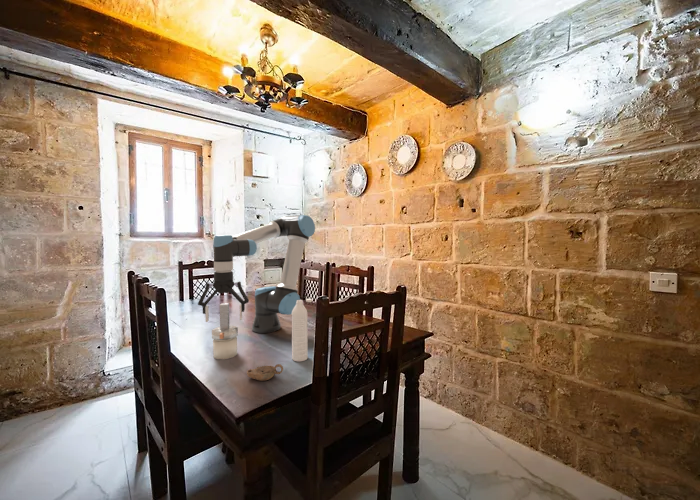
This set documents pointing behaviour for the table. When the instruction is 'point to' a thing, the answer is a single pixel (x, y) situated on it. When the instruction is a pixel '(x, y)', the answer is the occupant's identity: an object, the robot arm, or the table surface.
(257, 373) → the oil lamp
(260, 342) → the table surface
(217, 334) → the lid
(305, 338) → the water bottle
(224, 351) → the jar
